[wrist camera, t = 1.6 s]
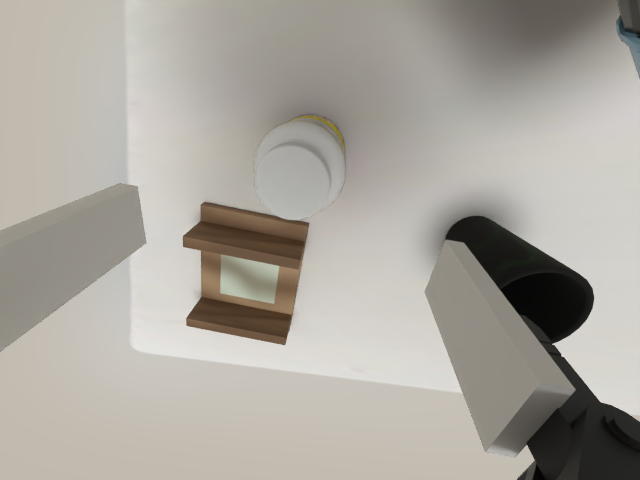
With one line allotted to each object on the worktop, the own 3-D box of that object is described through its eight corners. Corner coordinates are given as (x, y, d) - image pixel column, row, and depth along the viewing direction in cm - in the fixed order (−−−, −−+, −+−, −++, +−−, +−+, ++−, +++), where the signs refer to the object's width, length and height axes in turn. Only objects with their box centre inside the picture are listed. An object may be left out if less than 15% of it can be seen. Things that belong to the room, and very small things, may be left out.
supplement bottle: (304, 194, 31) (280, 252, 19) (266, 140, 29) (213, 170, 17) (358, 159, 29) (366, 201, 17) (321, 98, 27) (303, 101, 15)
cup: (453, 278, 34) (502, 362, 23) (423, 230, 32) (462, 299, 21) (519, 247, 32) (607, 325, 21) (492, 192, 29) (577, 249, 19)
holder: (204, 202, 32) (181, 219, 28) (309, 223, 32) (303, 243, 28) (204, 309, 39) (187, 337, 35) (290, 326, 40) (283, 355, 35)
